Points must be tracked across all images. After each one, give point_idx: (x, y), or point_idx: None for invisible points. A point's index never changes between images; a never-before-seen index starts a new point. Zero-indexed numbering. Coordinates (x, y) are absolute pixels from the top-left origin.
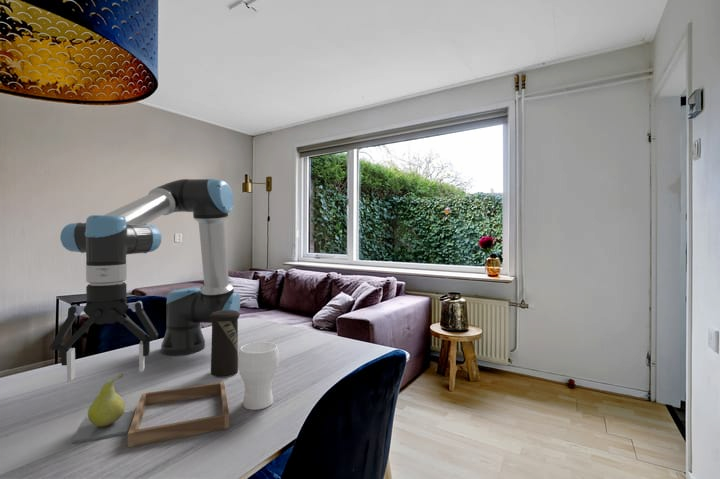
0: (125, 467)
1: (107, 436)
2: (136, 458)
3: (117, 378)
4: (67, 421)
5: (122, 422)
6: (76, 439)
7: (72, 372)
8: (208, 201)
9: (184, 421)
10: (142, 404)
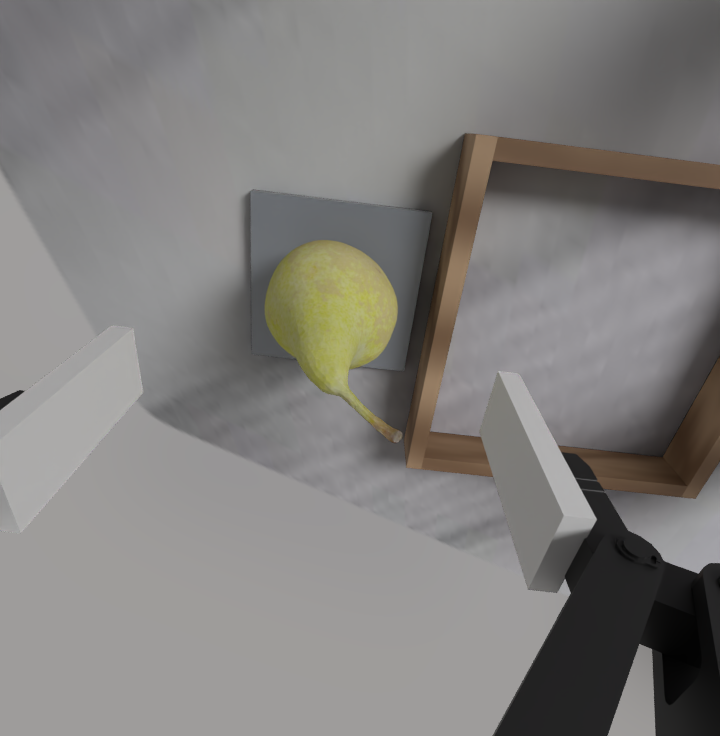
0: (399, 509)
1: None
2: (422, 490)
3: (368, 419)
4: (182, 154)
5: None
6: (262, 351)
7: (118, 396)
8: None
9: None
10: (464, 278)
